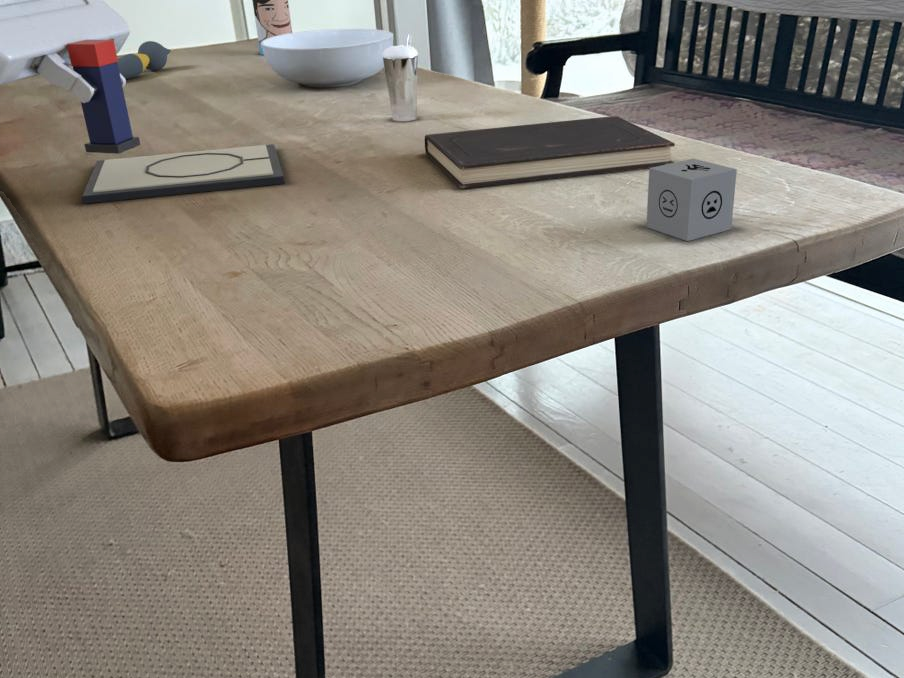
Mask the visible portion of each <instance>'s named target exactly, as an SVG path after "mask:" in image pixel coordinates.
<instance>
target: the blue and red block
mask: <svg viewBox="0 0 904 678" xmlns="http://www.w3.org/2000/svg"><path fill="white" fill-rule="evenodd" d="M67 48H68V52H69V57H70V61H71V65H72V66H71V67H72V70H73V71H75V72H76V73H78V74H79V75H81V76H85V75H87V76H88V77H89V78H90V79H91V80H93V82H94V83H96V84H97V85H98V87H99V89H100V90H99V93H98V95H97V97H96V98H95V100H92V101H89V102H86V103H82V102H81V101H80V105H81V109H82V114H83V118H84V123H85V126H86V131H87V135H88V140H89V142H87V143H84V144H83V145H84V149H85V153H96V154H121V153H124V152H126V151H129V150H131V149H134V148H136V147H139V146H141V141H140V137H139V136H134V135H133V130H132V126H131V121H130V117H129V112H128V107H127V106H128V105H127V102H126V97H125V92H124V87H122V82H121V77H120V72H119V68H118V63H117V62H118V59H119V58H118V55H117V54H118V53H117V54H116V49H115V44H114V40H82V41H78V42H74V43H69V44H67Z"/></svg>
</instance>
